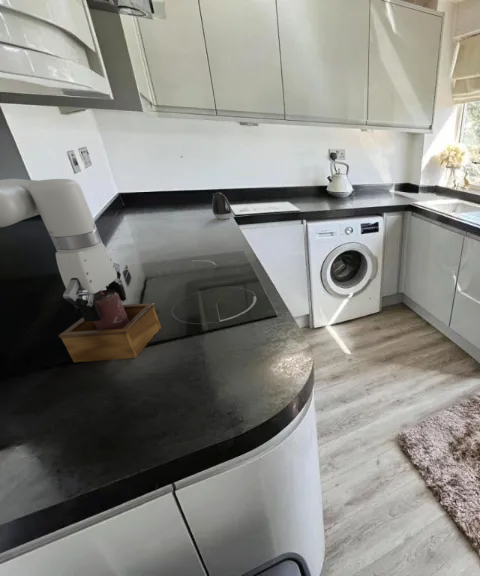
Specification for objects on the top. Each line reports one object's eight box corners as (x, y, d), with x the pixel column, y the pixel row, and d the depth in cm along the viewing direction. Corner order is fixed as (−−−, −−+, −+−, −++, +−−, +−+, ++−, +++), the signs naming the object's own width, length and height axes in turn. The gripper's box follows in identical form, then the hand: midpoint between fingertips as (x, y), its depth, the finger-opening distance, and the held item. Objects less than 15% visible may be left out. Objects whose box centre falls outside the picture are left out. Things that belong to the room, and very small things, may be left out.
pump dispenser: (224, 215, 200) (218, 190, 193) (236, 217, 196) (232, 191, 189) (210, 219, 191) (204, 193, 184) (223, 221, 187) (217, 194, 181)
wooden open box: (72, 362, 74) (58, 335, 71) (107, 331, 86) (97, 306, 82) (136, 358, 76) (125, 331, 72) (162, 327, 87) (154, 303, 84)
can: (130, 333, 85) (111, 285, 78) (140, 342, 81) (121, 293, 75) (101, 344, 80) (79, 295, 74) (111, 354, 77) (88, 303, 71)
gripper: (85, 229, 76) (111, 294, 84) (23, 255, 61) (62, 331, 68) (120, 228, 77) (143, 292, 85) (68, 253, 62) (101, 328, 69)
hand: (107, 309), depth 76 cm, fingers open, 9 cm apart
